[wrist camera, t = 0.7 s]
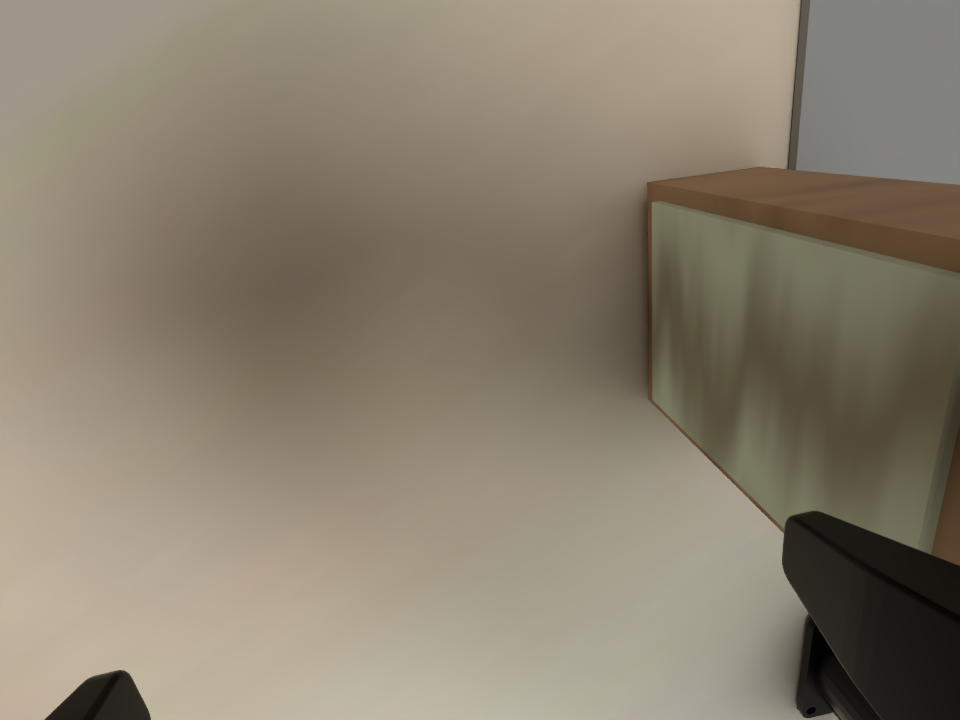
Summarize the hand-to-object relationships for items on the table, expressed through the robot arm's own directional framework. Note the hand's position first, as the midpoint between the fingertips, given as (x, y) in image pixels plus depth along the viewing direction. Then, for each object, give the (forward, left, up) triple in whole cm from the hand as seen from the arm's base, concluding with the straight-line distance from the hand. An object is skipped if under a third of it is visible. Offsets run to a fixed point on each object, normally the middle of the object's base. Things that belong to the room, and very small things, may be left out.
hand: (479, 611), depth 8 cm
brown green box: (0, -10, -13) cm, 17 cm away
